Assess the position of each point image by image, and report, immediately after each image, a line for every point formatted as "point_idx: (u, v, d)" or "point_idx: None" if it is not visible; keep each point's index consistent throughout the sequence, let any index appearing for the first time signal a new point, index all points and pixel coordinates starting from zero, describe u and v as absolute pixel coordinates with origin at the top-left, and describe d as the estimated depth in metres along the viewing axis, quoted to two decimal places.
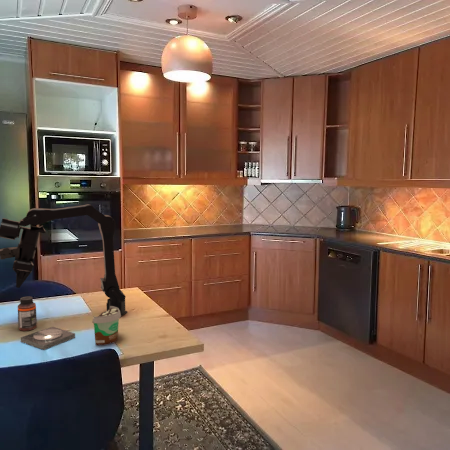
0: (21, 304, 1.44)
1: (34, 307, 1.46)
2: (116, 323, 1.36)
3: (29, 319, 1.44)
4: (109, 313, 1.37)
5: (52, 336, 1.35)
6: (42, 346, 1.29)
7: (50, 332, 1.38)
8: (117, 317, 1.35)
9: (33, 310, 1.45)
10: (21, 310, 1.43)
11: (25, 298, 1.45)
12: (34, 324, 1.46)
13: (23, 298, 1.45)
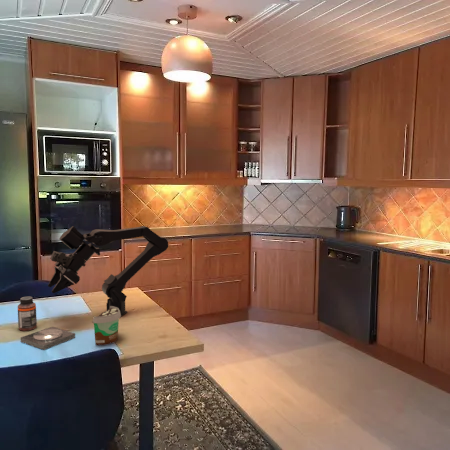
0: (21, 304, 1.44)
1: (34, 307, 1.46)
2: (116, 323, 1.36)
3: (29, 319, 1.44)
4: (109, 313, 1.37)
5: (52, 336, 1.35)
6: (42, 346, 1.29)
7: (50, 332, 1.38)
8: (117, 317, 1.35)
9: (33, 310, 1.45)
10: (21, 310, 1.43)
11: (25, 298, 1.45)
12: (34, 324, 1.46)
13: (23, 298, 1.45)
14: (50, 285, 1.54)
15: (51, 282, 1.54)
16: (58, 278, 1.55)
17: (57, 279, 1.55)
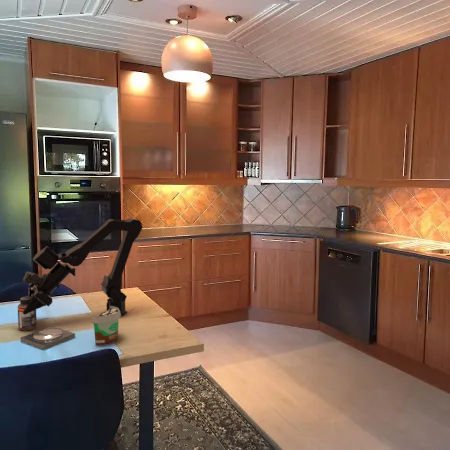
0: (21, 304, 1.44)
1: None
2: (116, 323, 1.36)
3: (29, 319, 1.44)
4: (109, 313, 1.37)
5: (52, 336, 1.35)
6: (42, 346, 1.29)
7: (50, 332, 1.38)
8: (117, 317, 1.35)
9: None
10: (21, 310, 1.43)
11: (25, 298, 1.45)
12: (34, 324, 1.46)
13: (23, 298, 1.45)
14: None
15: None
16: None
17: None
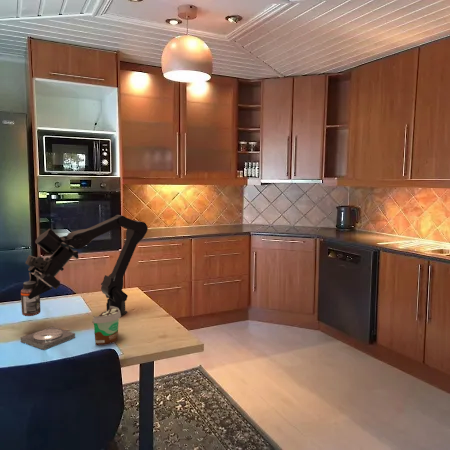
0: (25, 289, 1.39)
1: None
2: (116, 323, 1.36)
3: (34, 304, 1.40)
4: (109, 313, 1.37)
5: (52, 336, 1.35)
6: (42, 346, 1.29)
7: (50, 332, 1.38)
8: (117, 317, 1.35)
9: None
10: (26, 295, 1.39)
11: (29, 282, 1.41)
12: (38, 309, 1.42)
13: (26, 283, 1.40)
14: None
15: None
16: None
17: None
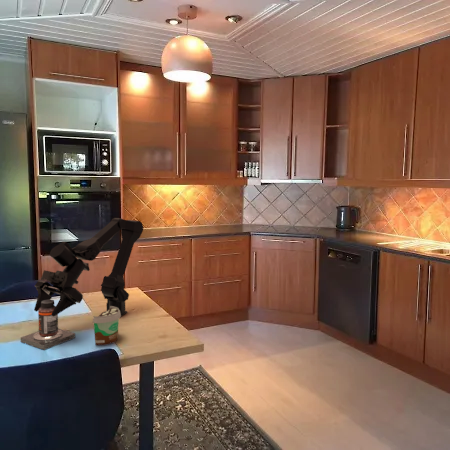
0: (45, 308, 1.34)
1: None
2: (116, 323, 1.36)
3: (55, 323, 1.35)
4: (109, 313, 1.37)
5: (52, 336, 1.35)
6: (42, 346, 1.29)
7: None
8: (117, 317, 1.35)
9: None
10: (47, 314, 1.33)
11: (47, 301, 1.35)
12: (57, 328, 1.37)
13: (45, 302, 1.35)
14: (37, 309, 1.37)
15: (38, 305, 1.38)
16: None
17: None
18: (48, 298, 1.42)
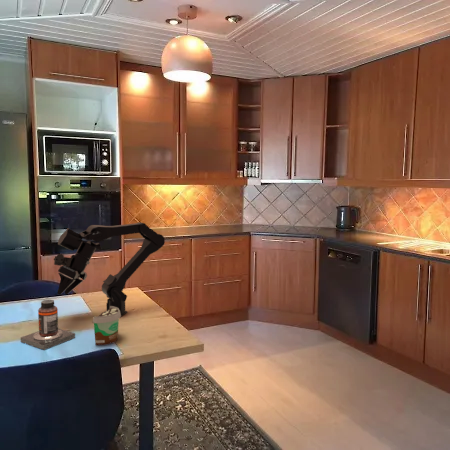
0: (45, 308, 1.34)
1: (57, 310, 1.37)
2: (116, 323, 1.36)
3: (55, 323, 1.35)
4: (109, 313, 1.37)
5: (52, 336, 1.35)
6: (42, 346, 1.29)
7: None
8: (117, 317, 1.35)
9: (57, 312, 1.36)
10: (47, 314, 1.33)
11: (47, 301, 1.35)
12: (57, 328, 1.37)
13: (45, 302, 1.35)
14: (66, 292, 1.55)
15: (67, 289, 1.55)
16: (73, 284, 1.56)
17: (72, 285, 1.56)
18: (77, 281, 1.57)
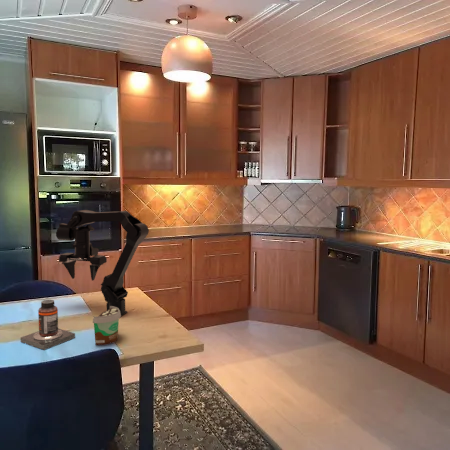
0: (45, 308, 1.34)
1: (57, 310, 1.37)
2: (116, 323, 1.36)
3: (55, 323, 1.35)
4: (109, 313, 1.37)
5: (52, 336, 1.35)
6: (42, 346, 1.29)
7: None
8: (117, 317, 1.35)
9: (57, 312, 1.36)
10: (47, 314, 1.33)
11: (47, 301, 1.35)
12: (57, 328, 1.37)
13: (45, 302, 1.35)
14: None
15: None
16: None
17: None
18: None
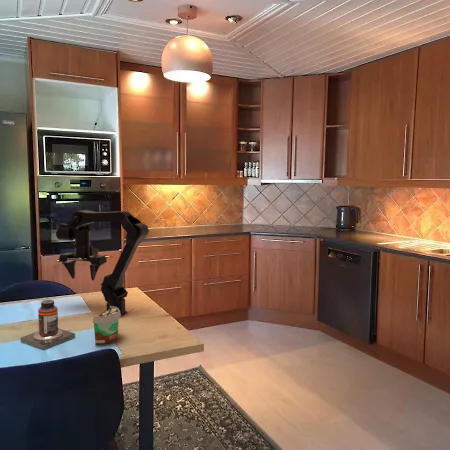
0: (45, 308, 1.34)
1: (57, 310, 1.37)
2: (116, 323, 1.36)
3: (55, 323, 1.35)
4: (109, 313, 1.37)
5: (52, 336, 1.35)
6: (42, 346, 1.29)
7: None
8: (117, 317, 1.35)
9: (57, 312, 1.36)
10: (47, 314, 1.33)
11: (47, 301, 1.35)
12: (57, 328, 1.37)
13: (45, 302, 1.35)
14: None
15: None
16: None
17: None
18: None
